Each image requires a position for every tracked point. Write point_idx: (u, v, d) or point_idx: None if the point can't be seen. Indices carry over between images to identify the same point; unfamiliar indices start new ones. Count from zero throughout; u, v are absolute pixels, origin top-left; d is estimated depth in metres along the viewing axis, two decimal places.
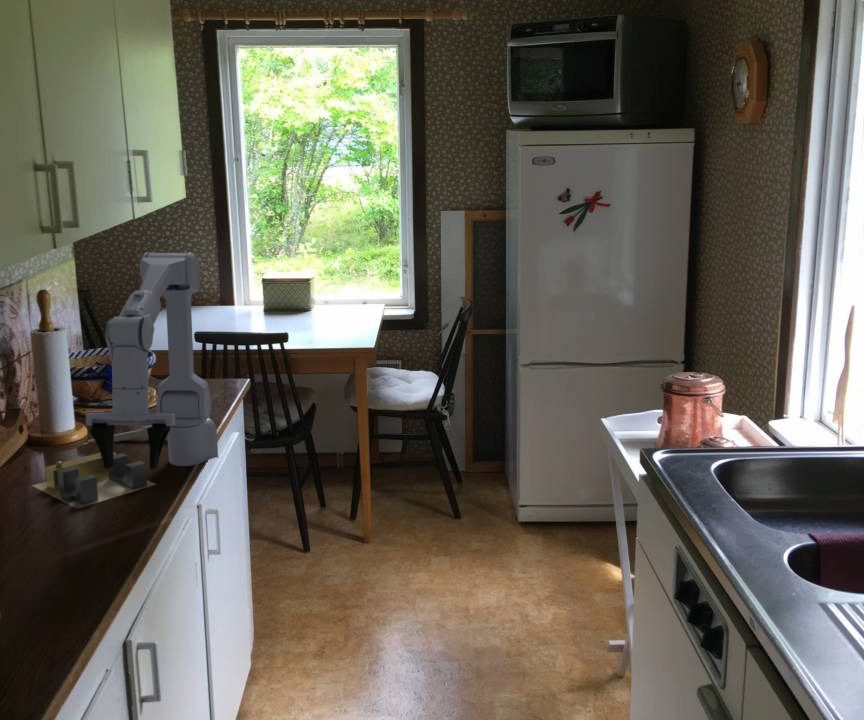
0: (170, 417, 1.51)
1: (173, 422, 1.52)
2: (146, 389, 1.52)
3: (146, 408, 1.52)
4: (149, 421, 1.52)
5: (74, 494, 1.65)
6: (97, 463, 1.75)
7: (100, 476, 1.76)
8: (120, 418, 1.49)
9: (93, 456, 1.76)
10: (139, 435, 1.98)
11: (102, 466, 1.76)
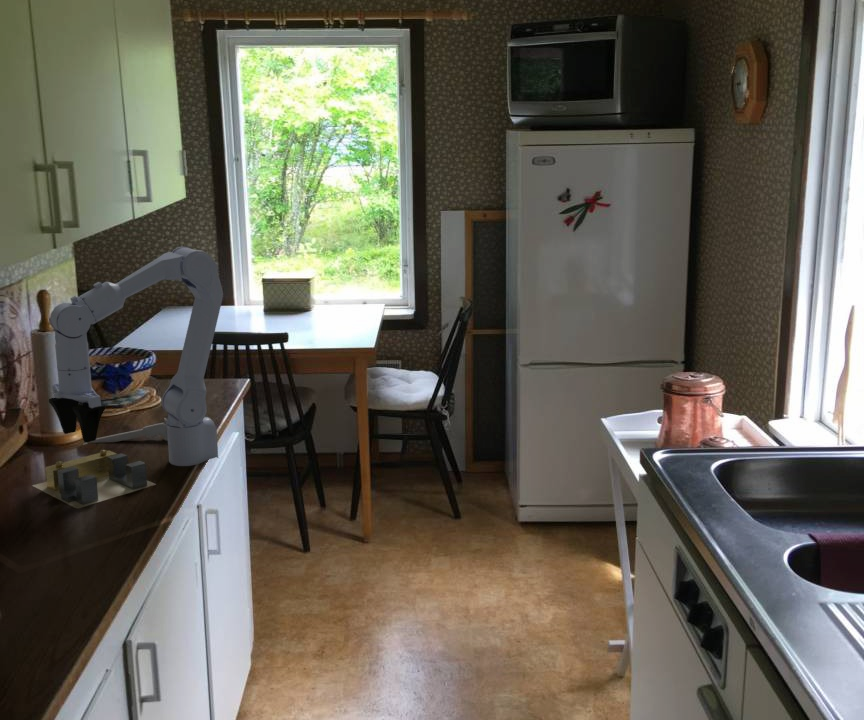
0: (90, 400, 1.65)
1: (95, 404, 1.66)
2: (80, 371, 1.68)
3: (80, 388, 1.68)
4: (83, 399, 1.69)
5: (74, 494, 1.65)
6: (97, 463, 1.75)
7: (100, 476, 1.76)
8: (54, 395, 1.68)
9: (93, 456, 1.76)
10: (139, 435, 1.98)
11: (102, 466, 1.76)
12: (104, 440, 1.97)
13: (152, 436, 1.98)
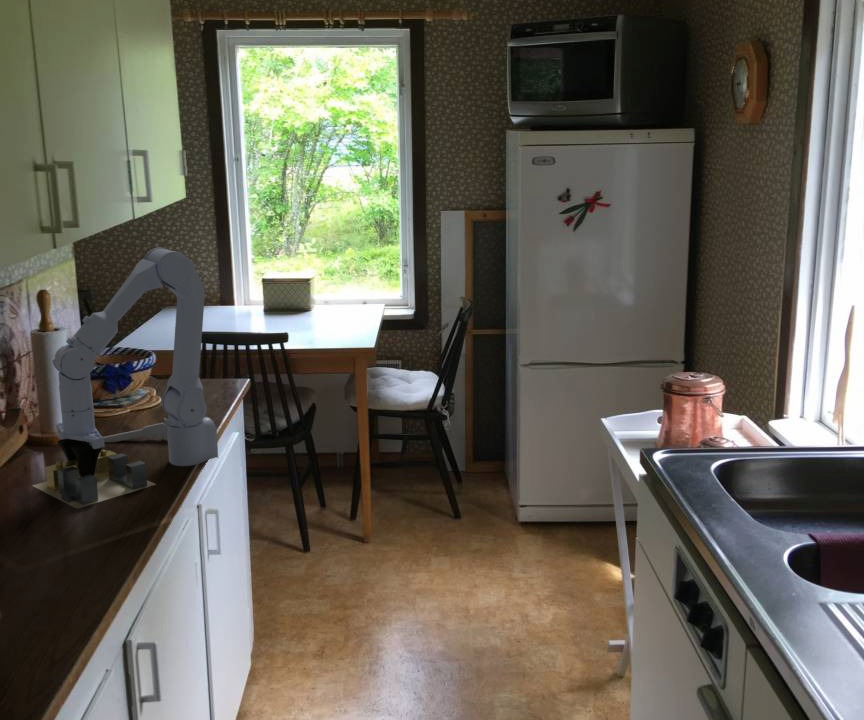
0: (93, 441, 1.67)
1: (99, 445, 1.68)
2: (83, 412, 1.69)
3: (84, 428, 1.70)
4: None
5: (74, 494, 1.65)
6: (97, 463, 1.75)
7: (100, 476, 1.76)
8: (58, 436, 1.70)
9: None
10: (139, 435, 1.98)
11: (102, 466, 1.76)
12: (104, 440, 1.97)
13: (152, 436, 1.98)
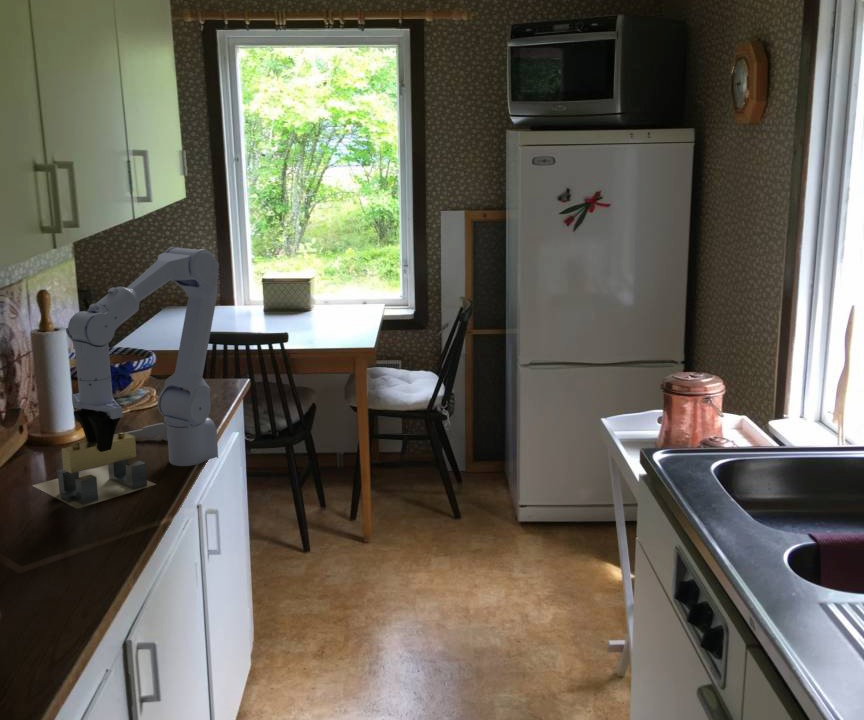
0: (111, 411, 1.61)
1: (117, 415, 1.62)
2: (101, 381, 1.63)
3: (101, 398, 1.64)
4: (104, 410, 1.64)
5: (74, 494, 1.65)
6: (115, 446, 1.69)
7: (117, 459, 1.70)
8: (75, 406, 1.63)
9: None
10: (139, 435, 1.98)
11: (120, 449, 1.70)
12: None
13: (152, 436, 1.98)
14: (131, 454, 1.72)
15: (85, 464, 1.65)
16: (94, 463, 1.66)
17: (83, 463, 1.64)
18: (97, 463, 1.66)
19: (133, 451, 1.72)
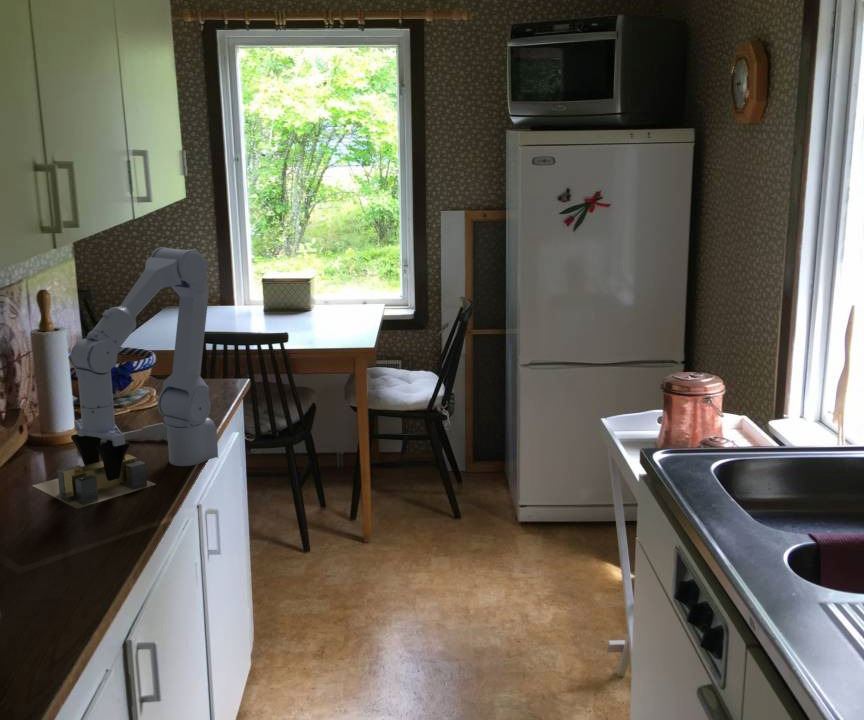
0: (114, 438, 1.62)
1: (119, 442, 1.63)
2: (103, 408, 1.64)
3: (104, 425, 1.65)
4: None
5: None
6: None
7: (119, 481, 1.70)
8: (77, 433, 1.64)
9: None
10: (138, 435, 1.98)
11: (122, 470, 1.70)
12: (103, 440, 1.97)
13: (151, 436, 1.98)
14: None
15: None
16: None
17: None
18: (99, 485, 1.67)
19: None
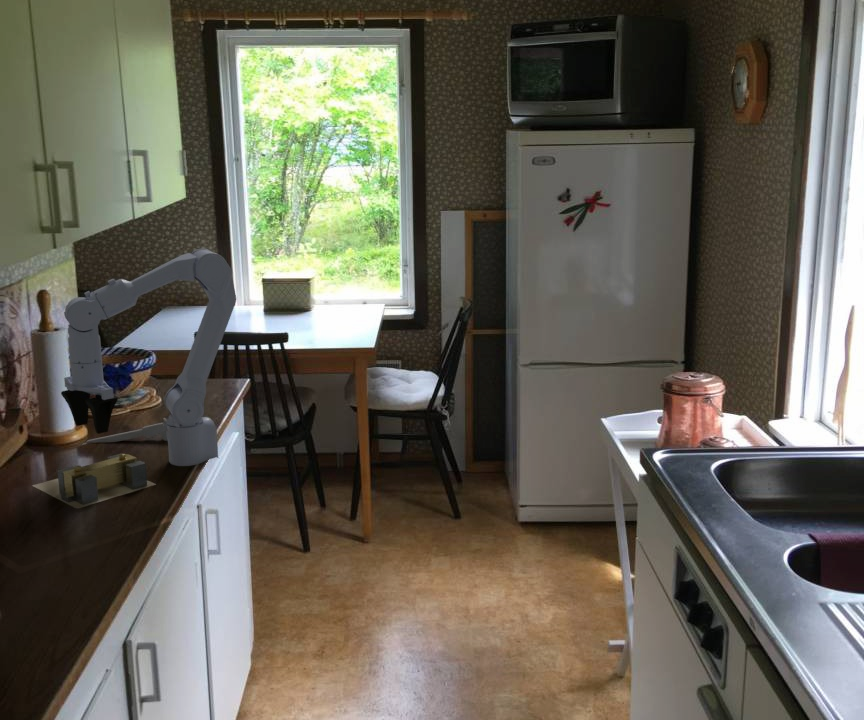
0: (102, 392, 1.69)
1: (108, 396, 1.70)
2: (92, 364, 1.72)
3: (93, 380, 1.72)
4: None
5: None
6: (116, 467, 1.70)
7: (119, 481, 1.70)
8: (67, 387, 1.72)
9: (112, 460, 1.71)
10: (138, 435, 1.98)
11: (122, 470, 1.70)
12: (103, 440, 1.97)
13: (151, 436, 1.98)
14: None
15: None
16: None
17: None
18: (99, 485, 1.67)
19: None
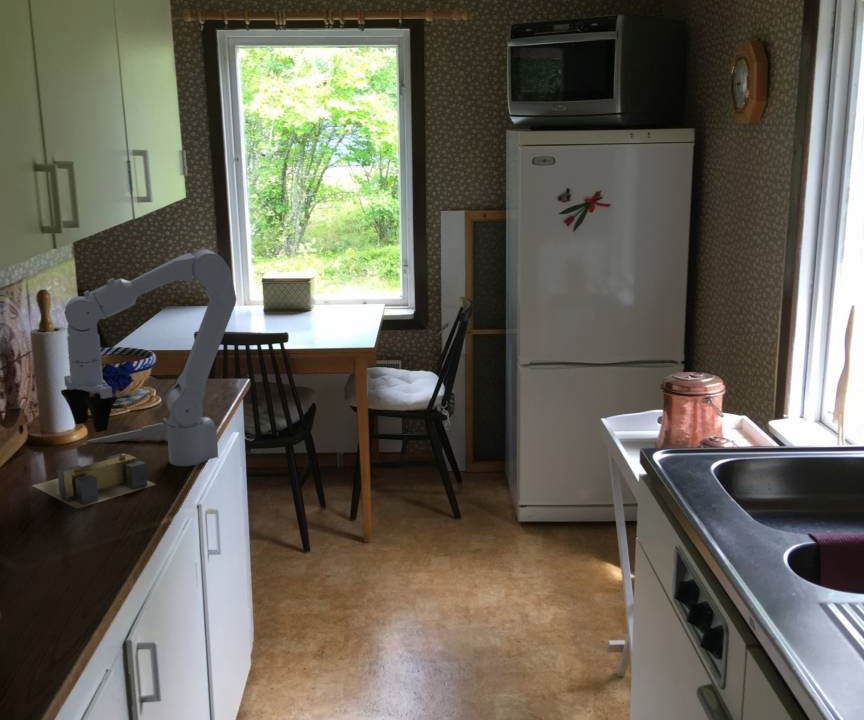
0: (101, 391, 1.70)
1: (107, 395, 1.71)
2: (91, 363, 1.72)
3: (92, 379, 1.73)
4: (95, 390, 1.73)
5: None
6: (116, 467, 1.70)
7: (119, 481, 1.70)
8: (67, 386, 1.73)
9: (112, 460, 1.71)
10: (138, 435, 1.98)
11: (122, 470, 1.70)
12: (103, 440, 1.97)
13: (151, 436, 1.98)
14: None
15: None
16: None
17: None
18: (99, 485, 1.67)
19: None
